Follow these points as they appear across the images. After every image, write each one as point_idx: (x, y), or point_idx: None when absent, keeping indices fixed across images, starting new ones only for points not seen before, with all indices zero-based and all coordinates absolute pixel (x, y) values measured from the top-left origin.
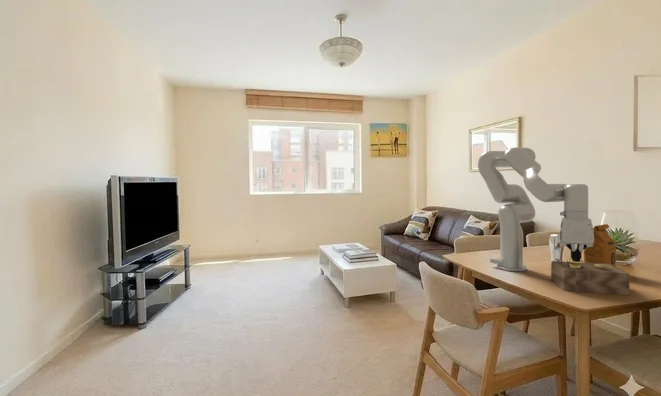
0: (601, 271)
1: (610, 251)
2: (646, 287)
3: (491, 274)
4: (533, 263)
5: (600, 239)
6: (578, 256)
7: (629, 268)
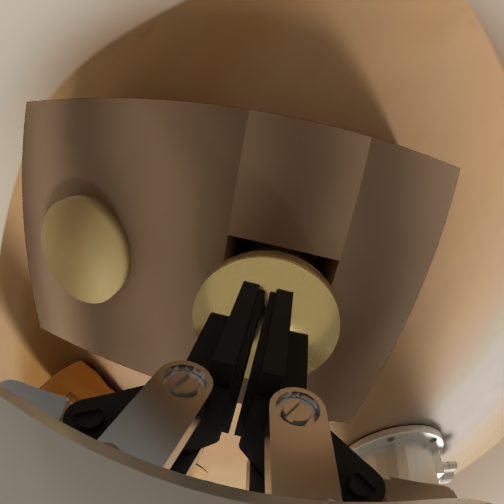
0: (146, 123)
1: None
2: (19, 229)
3: None
4: None
5: None
6: (249, 318)
7: None
